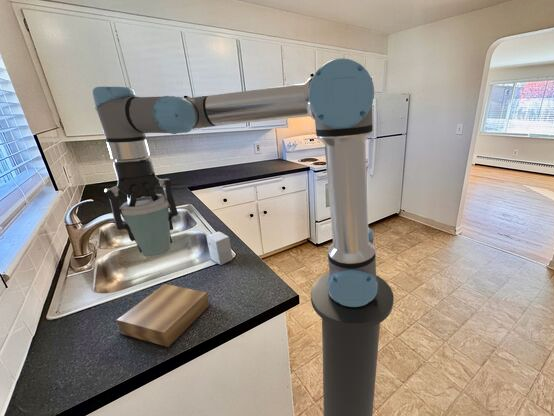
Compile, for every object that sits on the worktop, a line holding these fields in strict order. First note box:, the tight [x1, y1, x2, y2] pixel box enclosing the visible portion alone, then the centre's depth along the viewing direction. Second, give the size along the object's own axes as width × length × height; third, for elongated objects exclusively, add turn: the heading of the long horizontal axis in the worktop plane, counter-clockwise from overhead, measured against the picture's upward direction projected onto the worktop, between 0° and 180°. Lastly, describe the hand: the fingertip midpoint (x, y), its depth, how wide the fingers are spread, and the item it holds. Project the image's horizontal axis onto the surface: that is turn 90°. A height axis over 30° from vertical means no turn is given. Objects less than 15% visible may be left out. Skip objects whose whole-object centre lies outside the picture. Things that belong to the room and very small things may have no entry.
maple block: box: [116, 283, 210, 348], centre depth 77 cm, size 16×16×5 cm
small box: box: [205, 231, 234, 266], centre depth 106 cm, size 8×6×10 cm
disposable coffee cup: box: [119, 193, 172, 259], centre depth 69 cm, size 11×11×15 cm
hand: (155, 245), depth 71 cm, fingers open, 6 cm apart
